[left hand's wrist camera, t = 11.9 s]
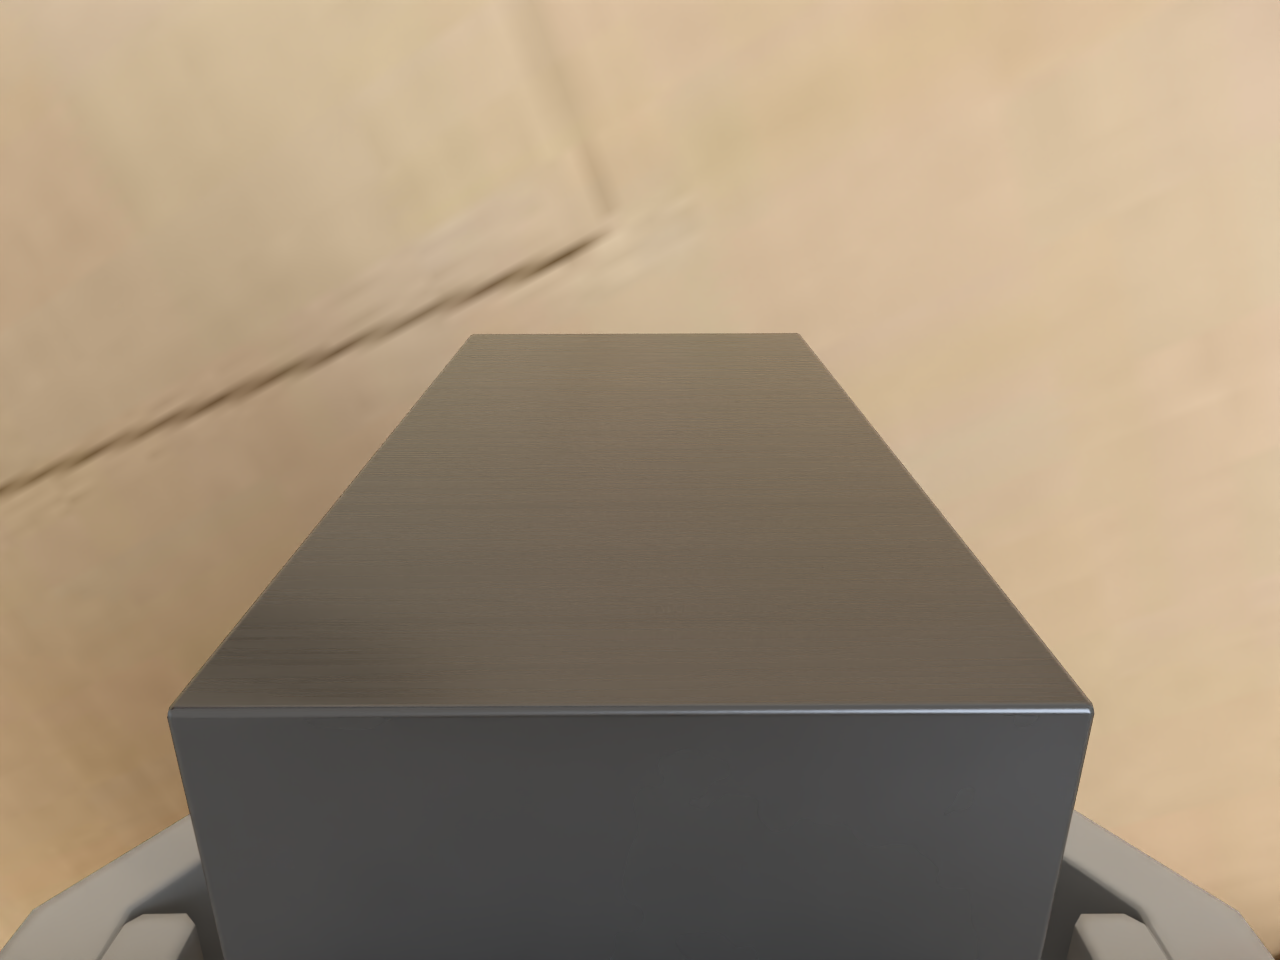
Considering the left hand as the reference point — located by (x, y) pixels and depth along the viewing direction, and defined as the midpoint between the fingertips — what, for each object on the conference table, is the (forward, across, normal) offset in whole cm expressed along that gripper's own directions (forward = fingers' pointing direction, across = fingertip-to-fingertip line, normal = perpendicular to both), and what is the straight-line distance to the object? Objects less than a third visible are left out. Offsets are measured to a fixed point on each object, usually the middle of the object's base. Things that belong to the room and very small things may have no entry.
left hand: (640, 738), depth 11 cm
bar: (+4, 0, -8) cm, 8 cm away
